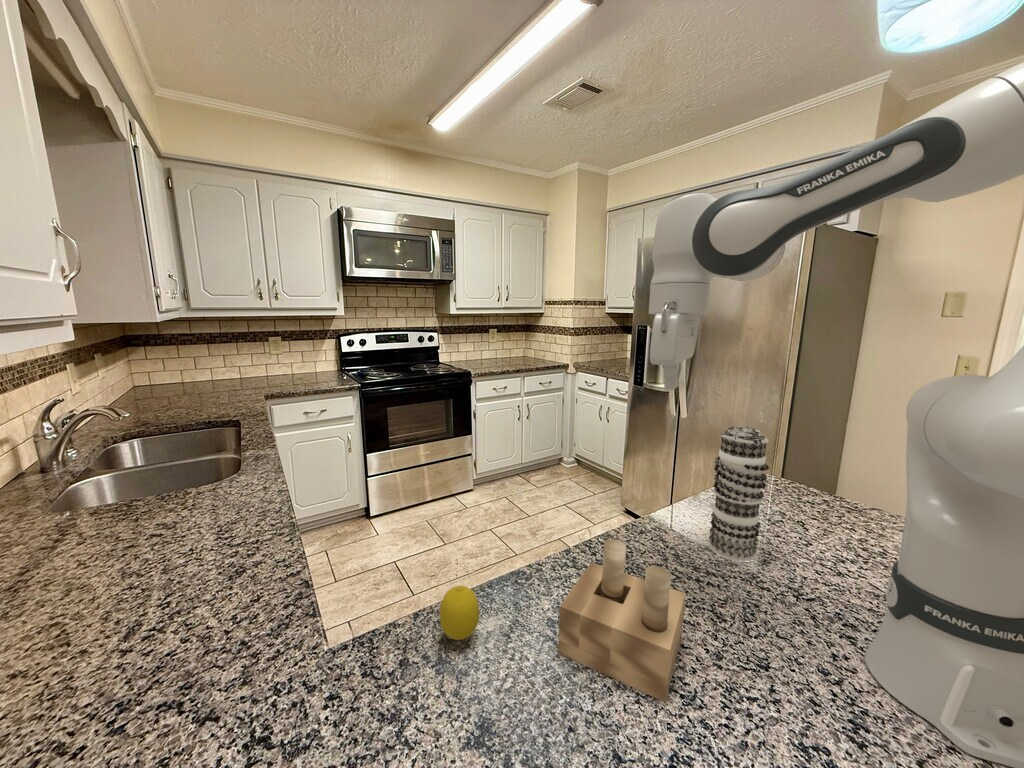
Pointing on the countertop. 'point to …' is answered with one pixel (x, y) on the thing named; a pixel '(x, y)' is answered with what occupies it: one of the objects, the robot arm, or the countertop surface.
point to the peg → (613, 570)
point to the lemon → (459, 612)
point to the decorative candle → (738, 493)
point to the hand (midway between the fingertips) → (671, 388)
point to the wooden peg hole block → (625, 629)
